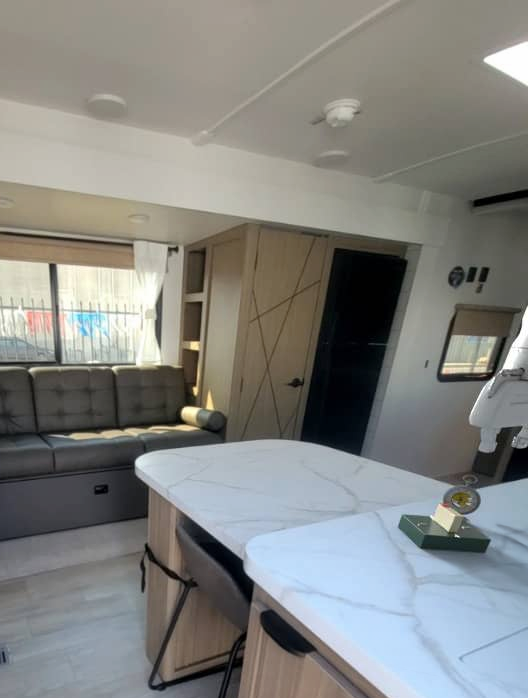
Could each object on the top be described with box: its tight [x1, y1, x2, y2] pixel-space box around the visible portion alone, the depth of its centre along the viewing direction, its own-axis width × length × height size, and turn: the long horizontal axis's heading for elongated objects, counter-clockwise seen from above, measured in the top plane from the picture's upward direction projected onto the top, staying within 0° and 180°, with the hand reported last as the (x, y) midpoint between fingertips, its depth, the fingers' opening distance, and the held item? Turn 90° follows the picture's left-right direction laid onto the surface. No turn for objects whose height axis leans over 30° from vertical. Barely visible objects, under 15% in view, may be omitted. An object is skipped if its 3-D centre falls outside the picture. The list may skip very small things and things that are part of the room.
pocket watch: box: [433, 474, 482, 525], centre depth 88 cm, size 8×8×10 cm
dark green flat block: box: [397, 513, 492, 554], centre depth 81 cm, size 12×10×3 cm
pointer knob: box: [433, 502, 465, 533], centre depth 79 cm, size 6×2×4 cm, turn 176°
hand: (502, 449), depth 72 cm, fingers open, 8 cm apart
